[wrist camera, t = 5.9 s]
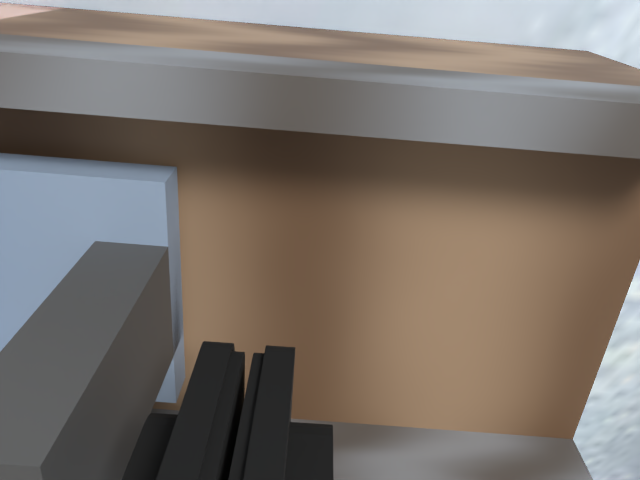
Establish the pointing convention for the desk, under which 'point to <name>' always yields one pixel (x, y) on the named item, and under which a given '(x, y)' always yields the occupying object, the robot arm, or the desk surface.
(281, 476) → the robot arm
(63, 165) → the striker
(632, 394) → the desk surface
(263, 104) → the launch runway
